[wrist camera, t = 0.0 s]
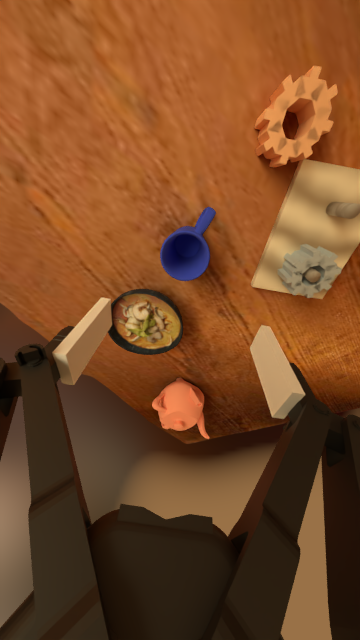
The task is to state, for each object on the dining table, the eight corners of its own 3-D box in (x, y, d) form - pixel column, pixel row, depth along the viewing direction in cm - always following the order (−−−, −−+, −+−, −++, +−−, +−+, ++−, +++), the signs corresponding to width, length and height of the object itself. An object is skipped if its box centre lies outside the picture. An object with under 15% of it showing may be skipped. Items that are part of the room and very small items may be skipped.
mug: (227, 217, 36) (236, 225, 28) (193, 270, 43) (192, 289, 34) (190, 191, 34) (188, 192, 26) (161, 250, 41) (152, 266, 33)
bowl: (189, 331, 53) (187, 357, 44) (130, 336, 55) (118, 361, 47) (179, 272, 43) (174, 291, 35) (109, 281, 46) (89, 301, 38)
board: (299, 159, 31) (322, 153, 25) (394, 178, 31) (438, 175, 26) (250, 284, 43) (258, 298, 38) (318, 296, 44) (336, 312, 38)
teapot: (202, 372, 61) (203, 412, 50) (208, 402, 71) (209, 442, 60) (154, 375, 64) (145, 414, 53) (166, 404, 74) (160, 442, 62)
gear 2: (278, 249, 37) (288, 257, 33) (329, 238, 36) (347, 245, 32) (276, 290, 42) (285, 301, 38) (322, 282, 40) (336, 293, 36)
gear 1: (267, 79, 26) (280, 58, 22) (330, 91, 27) (354, 73, 23) (245, 161, 32) (252, 157, 27) (298, 172, 32) (312, 169, 28)
